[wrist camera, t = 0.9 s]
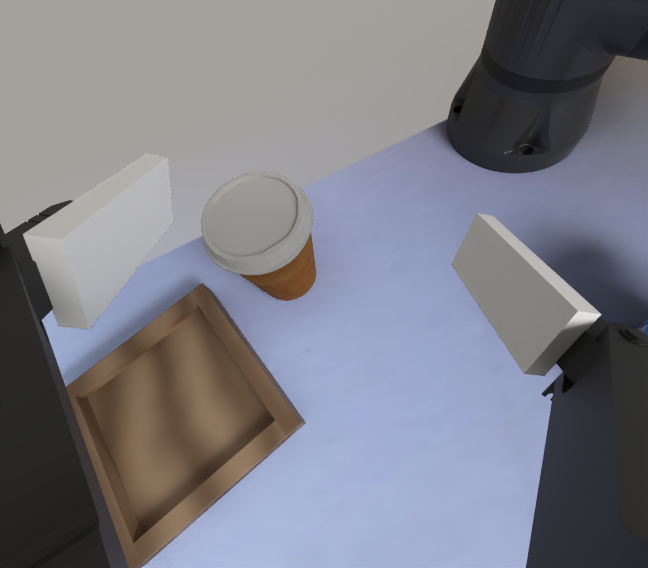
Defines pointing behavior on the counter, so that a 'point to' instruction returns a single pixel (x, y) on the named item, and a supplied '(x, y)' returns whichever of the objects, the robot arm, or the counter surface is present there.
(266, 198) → the disposable coffee cup
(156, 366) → the tray
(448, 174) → the counter surface
